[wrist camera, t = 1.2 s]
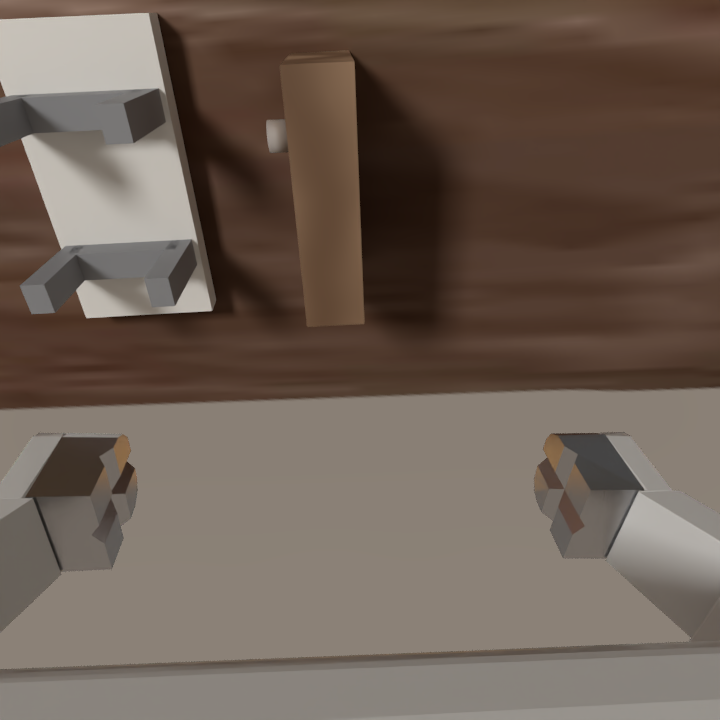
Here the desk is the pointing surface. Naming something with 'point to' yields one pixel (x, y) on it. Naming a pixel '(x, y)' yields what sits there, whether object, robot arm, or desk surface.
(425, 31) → the desk surface
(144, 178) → the white and grey rack
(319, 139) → the door panel
